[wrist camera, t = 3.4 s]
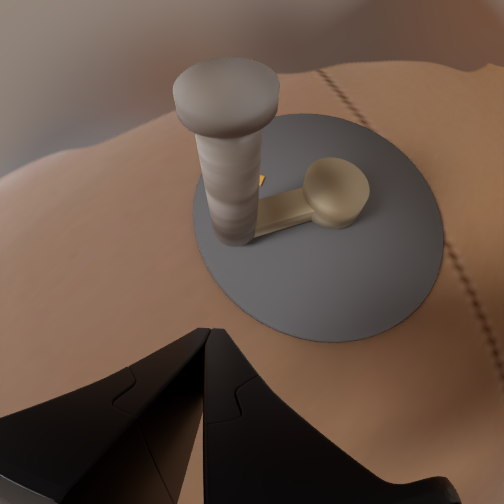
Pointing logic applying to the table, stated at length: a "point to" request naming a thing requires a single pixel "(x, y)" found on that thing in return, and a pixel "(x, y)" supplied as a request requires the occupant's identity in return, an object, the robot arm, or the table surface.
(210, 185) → the crank handle
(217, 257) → the dial plate
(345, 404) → the table surface
